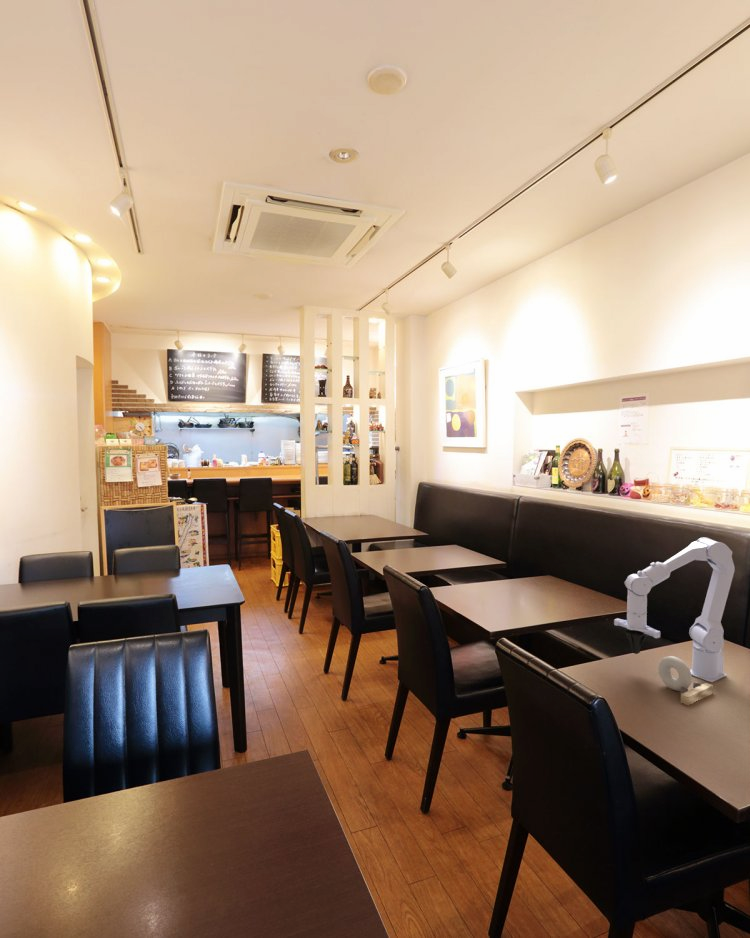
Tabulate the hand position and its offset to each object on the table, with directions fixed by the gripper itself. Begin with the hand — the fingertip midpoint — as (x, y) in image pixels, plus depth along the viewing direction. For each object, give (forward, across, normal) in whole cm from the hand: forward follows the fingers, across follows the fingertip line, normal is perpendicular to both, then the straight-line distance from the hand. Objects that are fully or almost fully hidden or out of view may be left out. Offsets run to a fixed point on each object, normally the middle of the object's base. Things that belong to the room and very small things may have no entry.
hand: (635, 652), depth 170 cm
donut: (+7, +13, -2) cm, 15 cm away
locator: (+6, +19, -1) cm, 20 cm away
